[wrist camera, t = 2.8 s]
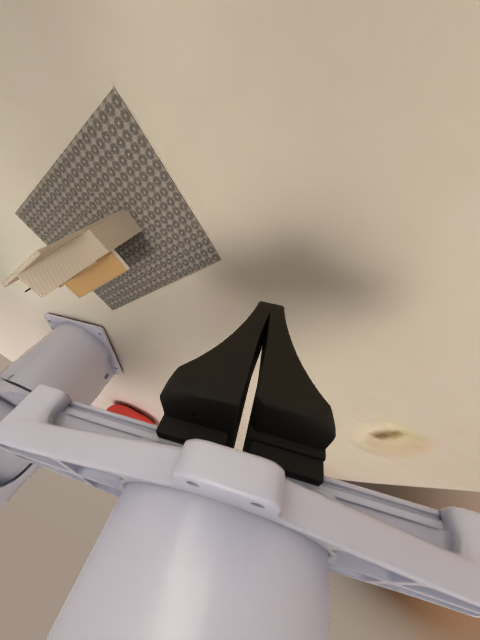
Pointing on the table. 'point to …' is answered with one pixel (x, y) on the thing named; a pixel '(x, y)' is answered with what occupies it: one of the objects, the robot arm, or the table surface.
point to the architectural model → (110, 217)
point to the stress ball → (128, 413)
